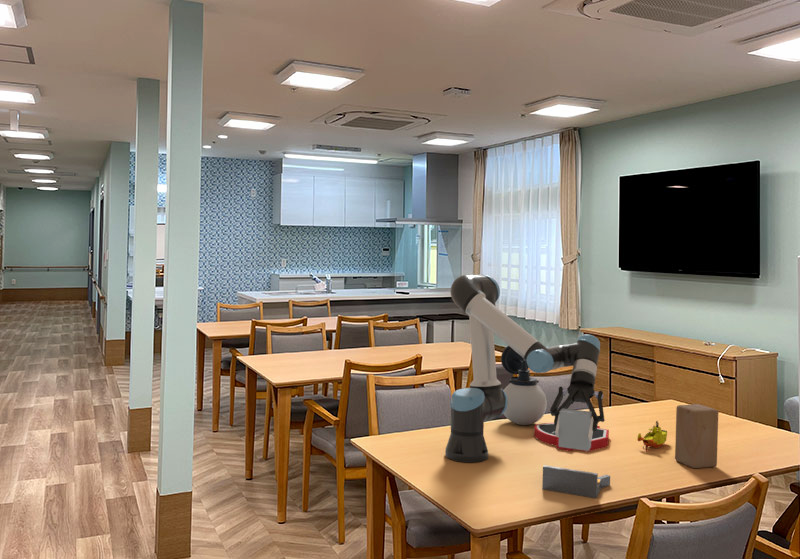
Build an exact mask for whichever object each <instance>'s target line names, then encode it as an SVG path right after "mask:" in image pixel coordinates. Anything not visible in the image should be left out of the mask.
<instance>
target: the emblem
mask: <svg viewBox="0 0 800 559" xmlns="http://www.w3.org/2000/svg"><path fill="white" fill-rule="evenodd" d="M533 428H534V434H533V436H534V437H535V438H536V439H537V438H538V439H539V440H538V439H537V440H538V441H540V440H541V441H540V442H542V441H543V443H545V442H546V443H545V444H547V443H549V444H548V445H551V444H553V445H552V446H555V445H556V449H557V448H559V449H558V450H565V451H567V450H568V451H569V452H572V451H573V450H574V449H571V448H564V447H559V437H556V433H555V431H556V426H555V425H554V422H544V423H537V424H535V423H534V427H533ZM609 434H610V430H609V429H606V428H601V426H600V425H597V431H593V434H592V441H591V448H590V450H589V451H588V452H591V451H595V449H596V450H599V448H600V449H603V447H604V448H607V446H609V438H610V435H609ZM571 450H572V451H571ZM568 451H567V452H568ZM576 451H579V450H578V449H577V450H576ZM582 452H585V450H582Z"/></svg>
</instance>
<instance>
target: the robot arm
mask: <svg viewBox="0 0 800 559" xmlns="http://www.w3.org/2000/svg"><path fill="white" fill-rule="evenodd" d="M500 294H501V290H500V286H499V284H498V282H497V281H496V280H495V278H494V277H492V276H491V275H486V274H464V275H460V276H458V277H457V278H455V279H454V281H453V282H452V284H451V286H450V296H451V299H452V301H453V302H454V304H455V305H456V306H457V307H458V308H459V309H460V310H461V311H462V312H464V313H465V315H468V318H469V331H470V332H469V333H470V347H471V358H472V374H473V380H472V381H471V382H470V384H469V387H466V388H459V389H456V390H455V391H454V392H453V393H452V394H451V399H450V435H449V437H448V440H447V444H446V446H445V452H444V454H445V455H444V456H445V457H446V458H447V459H449V460H451V461H454V462H458V463H459V462H461V463H479V462H484V461H486V460H488V458H489V450H488V447H487V443H486V439H485V436H484V428H485V427H484V426H485V425H484V423H486V422H488V421H492V420H496V419H498V418H499V417H500V416H502V415H504V414H503V413H504V412H505V410H506V408H507V405H508V398H507V395H506V393H505V392H504V391H503V390H504V389H503V388H502V382H501V381H500V380H499V379H498V377H497V364H496V350H495V338H494V337H495V336H494V335H496V336H497V338H499V339H500V340H501V341H503V343H504V344H506V345H507V346H510V347H511V348H512V349H513V350H515V351H516V352H517V353H518V354H519V355H521V356H522V357H523V358H524V359H525V360H526V361H527V365H528V367H529V368H528V370H530V372H533V373H537V374H543V373H544V374H545V373H547V372H550V371H553V370H557V369H561V368H565V367H572V371H571V376H570V381H569V386H568V387H567V388H565V387H564V388H563V386H558V393H557V394H556V397H555V399H554V401H553V403H552V405H551V407H550V409H549V411H550V412H549V413H550V415H551V416H552V417H554V420H553V423H554V425H555V426H556V431H555V433H556V437H559V415H560V410H561V409H562V408H564V409H569V407H570V406H571V405H573V404H574V403H582V404H586V406H587V408H588V411H590V412H592V418H591V421H590V428H589V434H588V439H589V442H591V441H592V434H593V431H597V426H599V422H601V423H604V422H605V421H606V420H605V415H604V414H605V411H604V406H603V399H604V392H603V391H602V390H599V391H597V390H594V389H595V385H596V384H595V383H596V377H597V370H598V362H599V357H600V353H601V342H600V340H599V339H598V338H597V337H596V336H595V335H592V334H582V335H581V336H579V337H578V339H577V341H576V342H574V343H570V344H558V345H557V344H556V345H550V346H545V345H544V344H543V343H541V342H540V341H539V340H537V339H536V337H534V336H533V335H531V334H530V333H529V332H528V331H526V330H525V329H524V328H523V327H522V326H521V325H519V324H518V323H517V322H515V321H514V320H513V319H512V318H510V316H508V315H507V314H506V313H504V312H503V311H502V310H501V309H499V308H498V307H497V304H496V303H497V301H498V300H499V298H500ZM566 394H568V396H567V397H566V399H565V400H564V401H563V403H562V400H563V399H564V396H566ZM594 396H595V399H596V400H597V404H598V411H599V415H598V414H597V412H596V410H595V408H594V406H593V403H592V401H591V399H592V398H593V397H594ZM561 403H562V404H561ZM560 404H561V405H560Z"/></svg>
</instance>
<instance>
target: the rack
mask: <svg viewBox="0 0 800 559" xmlns="http://www.w3.org/2000/svg"><path fill="white" fill-rule="evenodd" d="M598 475H599V473H596V472H589V471H585V470H584V471H583V470H579V469H578V470H577V469H571V468H566V467H558V466H552V465H547V464H546V465H545V464H544V465H543V466H542V484H541V486H542V487H541V488H542V490H543V491H544V490H546V491H551V492H556V493H561V494H562V493H563V494H568V495H569V494H570V495H573V496H574V495H575V496H581V497H586V498H593V499H598V496H599V494H600V492H601V490H602V489H604V488H606V487H609V486H611V475H609V474H604V475H600V476H598Z"/></svg>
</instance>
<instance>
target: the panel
mask: <svg viewBox="0 0 800 559" xmlns="http://www.w3.org/2000/svg"><path fill="white" fill-rule="evenodd" d="M591 418H592V412H590V411H589V410H581V409H579V410H578V409H569V408H568V409H564V408H562V409H561V410H560V415H559V447H564V448H571V449H573V450H575V449H578V450H577V451H580V450H585V451H587V452H590V451H589V450H590V448H591V442H589V439H588V434H589V428H590V421H591ZM585 451H584V452H585Z"/></svg>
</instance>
